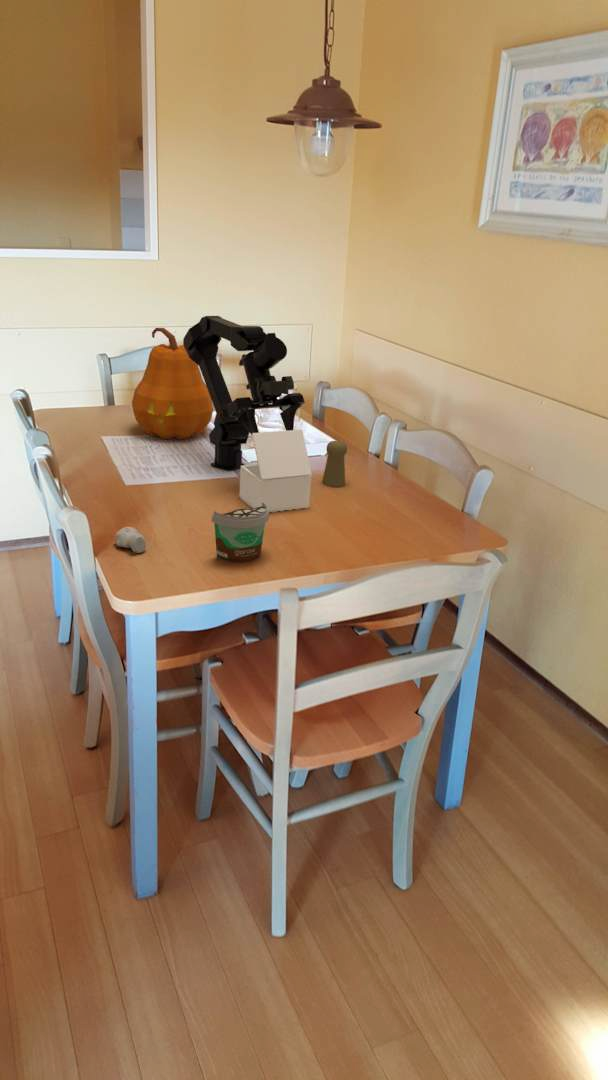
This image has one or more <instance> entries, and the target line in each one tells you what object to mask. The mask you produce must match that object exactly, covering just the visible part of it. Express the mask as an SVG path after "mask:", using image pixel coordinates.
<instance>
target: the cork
mask: <svg viewBox="0 0 608 1080" xmlns="http://www.w3.org/2000/svg"><path fill="white" fill-rule="evenodd" d="M347 451H348V445H347V444H346V443H345V442H343V441H340V440H332V441H329V442H328V443H327V445H326V452H327V459H326V462H325V463H326V464H325V466H324V467H325V468H324V471H323V476H322V480H321V483H323V484H324V486H325V485H327V486H326V487H328V486H330V487H329V488H343V487H345V486H346V469H345V455H346V454H347ZM323 484H322V485H323Z"/></svg>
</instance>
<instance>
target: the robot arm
mask: <svg viewBox="0 0 608 1080" xmlns="http://www.w3.org/2000/svg"><path fill="white" fill-rule="evenodd" d="M276 335H277V334H276V333H275V332H268V333H266V332H265V331H264V328H263V327H261V326H259V325H240V324H238V323H235V322H233V321H230V320H228V319H225V318H222V316H220V315H205V316H203V317H202V316H201V318H200V320H199V321H198V322H197V323H196V324H194V325H193V326H192V327H190V328H188V330H187V332H186V334H185V336H184V337H183V341H182V343H183V344H182V345H184V348H185V349H186V351H187V353H188V355H189V358H190V359H191V360H193V361H194V362H195V363H196V364H198V367H199V370H200V373H201V376H202V379H203V381H204V383H205V384H206V386H207V389H208V391H209V394H210V397H211V400H212V404H213V405H212V406H213V409H215V418H214V420H213V425H214V426H213V427H214V428H212V430H211V431H210V433H209V434H208V438H209V443H211V444H212V445H214V462H211V463H210V466H211V467H215V468H219V469H222V470H225V471H233V470H236V469H238V468H241V466H244V465H245V463H243V461H242V460H243V450H242V445H246V444H247V443H248V439H249V436H250V435H251V436H252V433H260V432H259V428H258V425H257V421H256V410H260V409H261V410H262V409H263V410H265V409H272V408H279V410H280V411H281V412H280V413H279V415H280V418H281V421H282V423H283V425H284V430H285V431H289V430H294V429H295V426H294V425H295V417H296V413H297V411H298V410H299V409H300V408H301V407H302V405H304V404H306V401H305V397H304V396H303V394H302V393H300V392H293V393H289V391H290V390H291V391H292V390H294V388H295V383H294V379H293V377H292V375H287V376H282V377H281V380H277V379H276V377H275V375H272V374H271V370H270V369H272V368H274V367H275V366H277V364H279V363H280V362H281V361H283V359H285V358H286V357H287V353H288V349H287V346H286V344H285V342H284V341H283V340H282V339H281V338H278V337H277V336H276ZM222 339H224V340H226V341H229V342H230V347H232V348H233V349H234V350H236V351H238V352H248V353H247V354H242V355H241V358H240V360H239V362H238V365H239V366H240V367H242V366H243V368H244V372H245V376H246V379H247V384H246V385H245V387H246V390H249V391H250V396H251V397H250V396H246V397H245V396H244V397H237V398H235V399H234V400H233V399H232V397H231V394H230V391H229V389H228V386H227V383H226V380H225V378H224V375H223V373H222V370H221V368H220V365H219V362H218V359H217V355H218V352H219V344H220V342H221V341H222ZM282 394H284V396H283V397H281V396H282ZM280 397H281V398H280Z"/></svg>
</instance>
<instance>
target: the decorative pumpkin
mask: <svg viewBox="0 0 608 1080" xmlns="http://www.w3.org/2000/svg"><path fill="white" fill-rule="evenodd" d="M157 332H161V333H162V334H163V335H164V336H165V337H166V338H167V340H168V343H169V344H168V345H166V344H164V343H163V344H162V343H160V344H158V345H155V346H153V347H152V349H151V350H150V352H149V354H148V360H147V364H146V368H145V370H144V373H143V376H142V379H141V380H140V381H139V383H138V384H137V386H136V387H135V388H134V393H133V397H132V400H131V405H132V409H133V410H132V411H133V416H134V417H135V421H136V422H137V424H138V425H139V426H140V428H141V430H143V431H144V432H146V433H147V434H149V435H150V436H153V437H156V436H157V437H160V439H165V440H169V439H172V438H177V439H179V440H183V439H187V438H189V437H196V436H198V435H199V434H200V433H203V431H205V429H206V428H207V427H208V425H209V424H210V423H211V421H212V416H213V412H214V405H213V402H212V400H211V397H210V394H209V391H208V389H207V386H206V383H205V381H204V378H203V375H202V373H201V370H200V367H199V365H198V364H196V363H195V362H194V361H193V360H191V359H190V358H189V355H188V353H187V351H186V349H185V348H184V345H183V344H180V345H178V343H177V339H176V336H175V335H174V334H172V333H171V332H170V331H169V330H168V329H166V328H165V327H155V328H154V329H153V331H151V337H152V338H153V339H154V338H155V336H156V335H155V334H156V333H157Z"/></svg>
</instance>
